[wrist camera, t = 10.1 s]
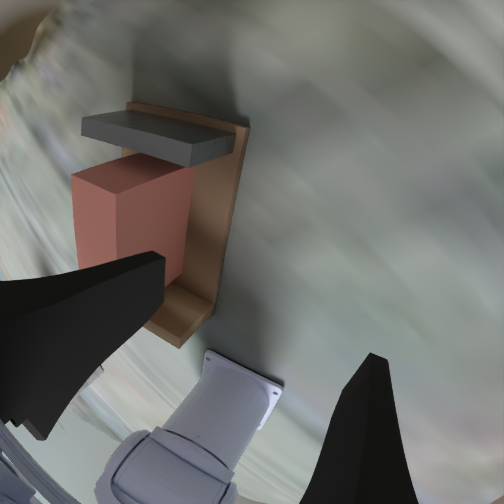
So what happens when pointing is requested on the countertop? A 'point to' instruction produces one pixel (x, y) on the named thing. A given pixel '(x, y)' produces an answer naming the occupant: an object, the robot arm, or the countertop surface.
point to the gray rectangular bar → (160, 136)
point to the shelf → (199, 233)
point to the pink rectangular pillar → (132, 211)
